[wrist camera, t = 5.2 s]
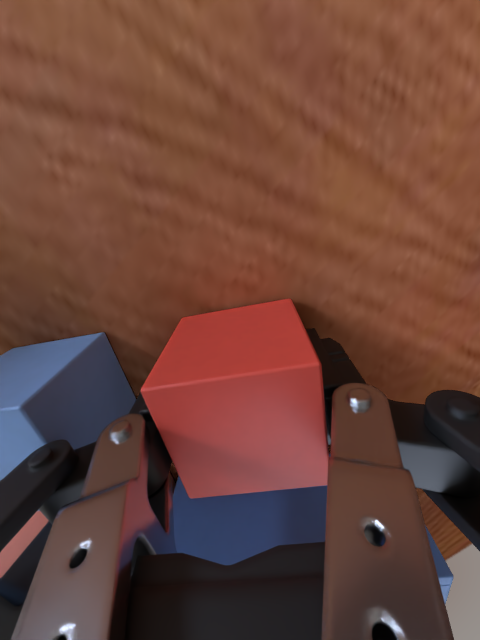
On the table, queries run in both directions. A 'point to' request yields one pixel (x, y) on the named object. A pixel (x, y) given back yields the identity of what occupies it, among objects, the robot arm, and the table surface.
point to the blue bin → (259, 525)
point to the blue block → (58, 395)
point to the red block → (241, 402)
